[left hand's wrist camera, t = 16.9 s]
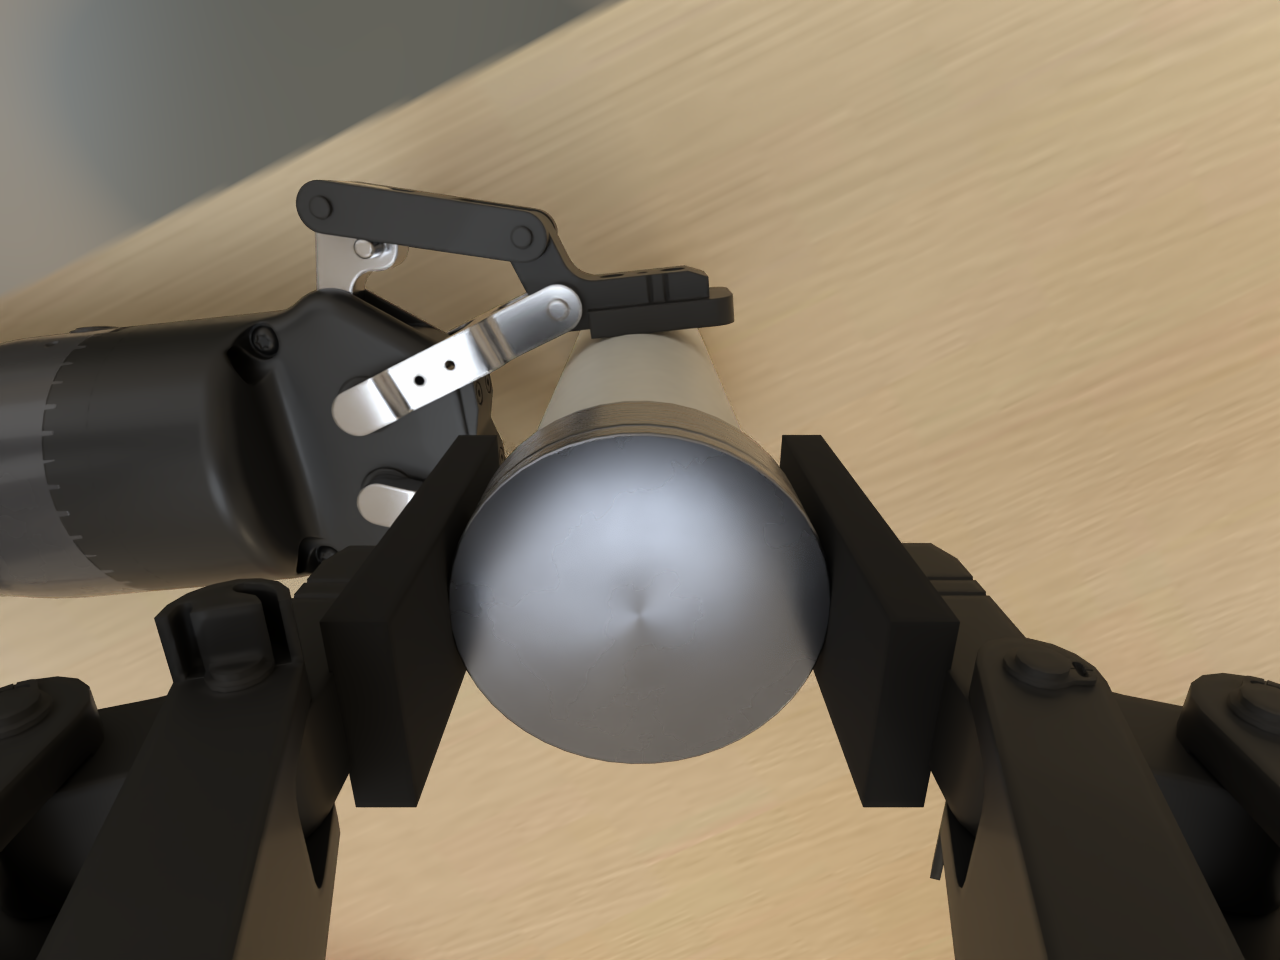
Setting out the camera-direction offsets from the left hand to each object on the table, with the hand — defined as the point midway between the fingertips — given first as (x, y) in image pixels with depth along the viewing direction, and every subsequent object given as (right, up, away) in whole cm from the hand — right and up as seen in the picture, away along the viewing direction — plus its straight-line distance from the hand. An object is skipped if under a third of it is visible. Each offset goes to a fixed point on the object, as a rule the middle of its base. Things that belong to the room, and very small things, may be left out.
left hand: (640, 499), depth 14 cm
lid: (0, -1, -4) cm, 4 cm away
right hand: (+3, +3, +6) cm, 7 cm away
